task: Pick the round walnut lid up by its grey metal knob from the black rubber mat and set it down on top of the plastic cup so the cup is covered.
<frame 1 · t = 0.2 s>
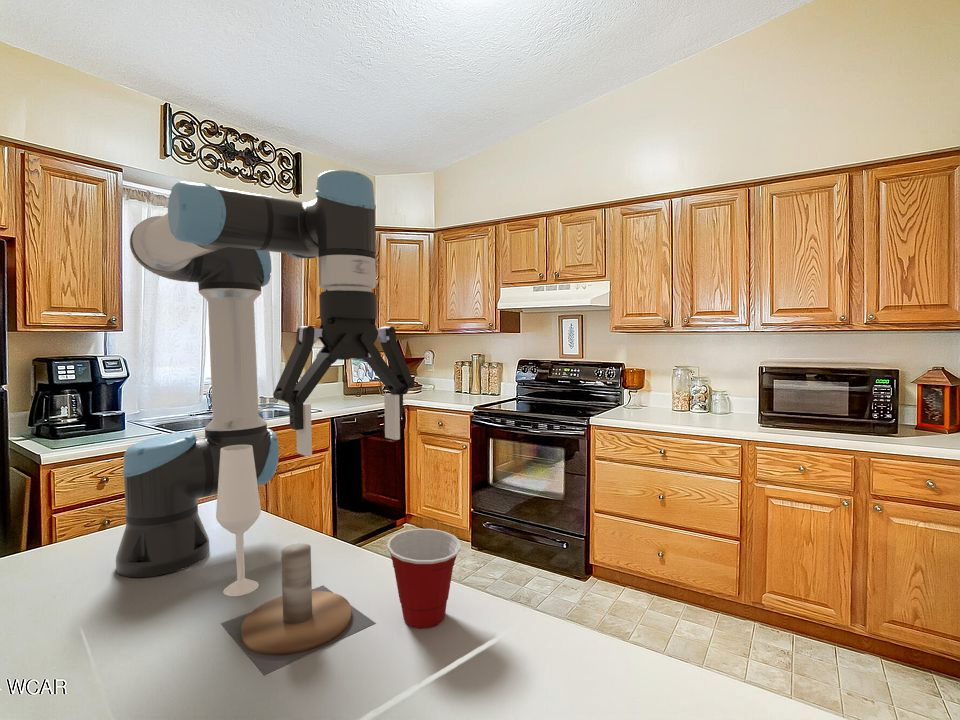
hand: (351, 446, 70), 27 cm above the kitchen island, fingers open, 13 cm apart
mat: (298, 626, 74), on the kitchen island
plastic cup: (425, 622, 75), on the kitchen island
lid: (298, 623, 74), resting on mat
champagne flute: (241, 591, 85), on the kitchen island
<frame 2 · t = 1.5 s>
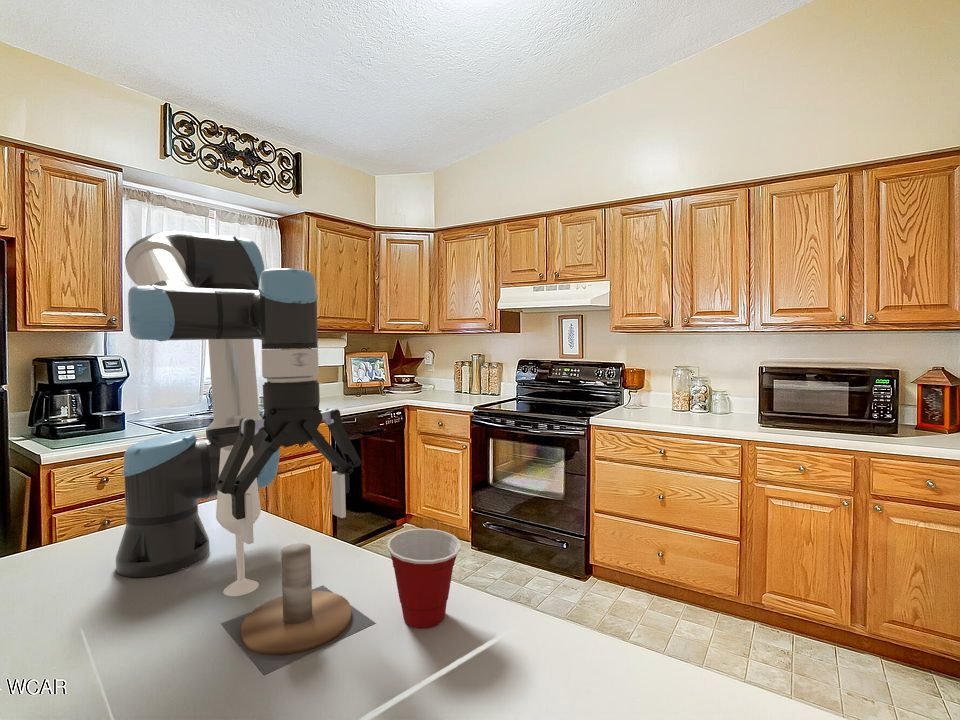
hand: (296, 527, 73), 15 cm above the kitchen island, fingers open, 13 cm apart
nothing on the kitchen island moved.
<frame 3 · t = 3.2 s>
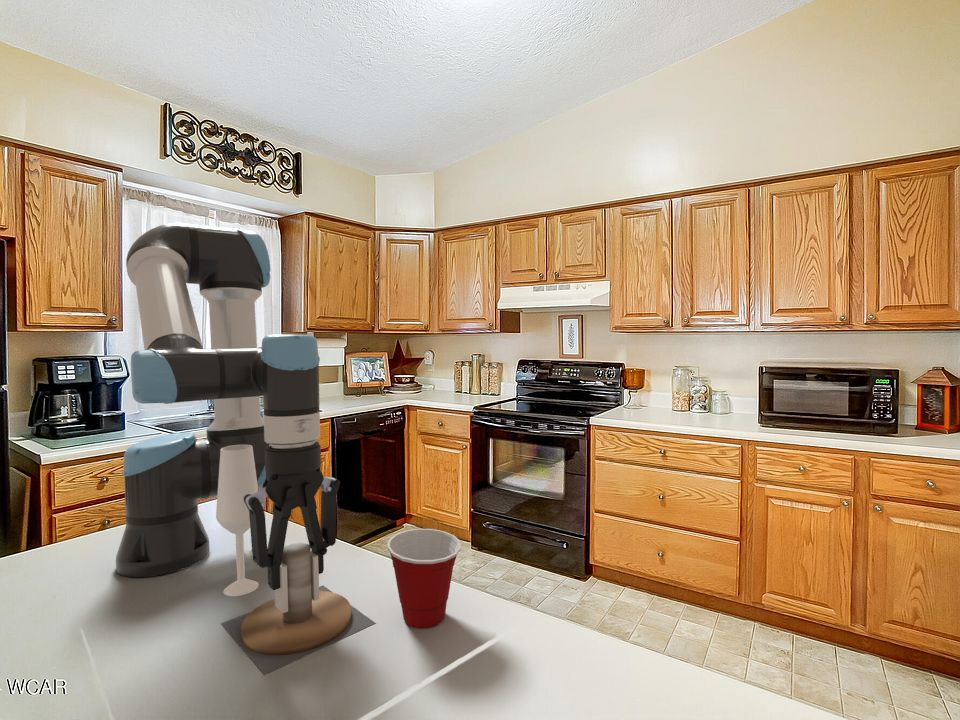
hand: (297, 602, 74), 4 cm above the kitchen island, fingers closed on lid, 4 cm apart
lid: (298, 623, 74), point 1 cm above the kitchen island, touching gripper
everything else where it was.
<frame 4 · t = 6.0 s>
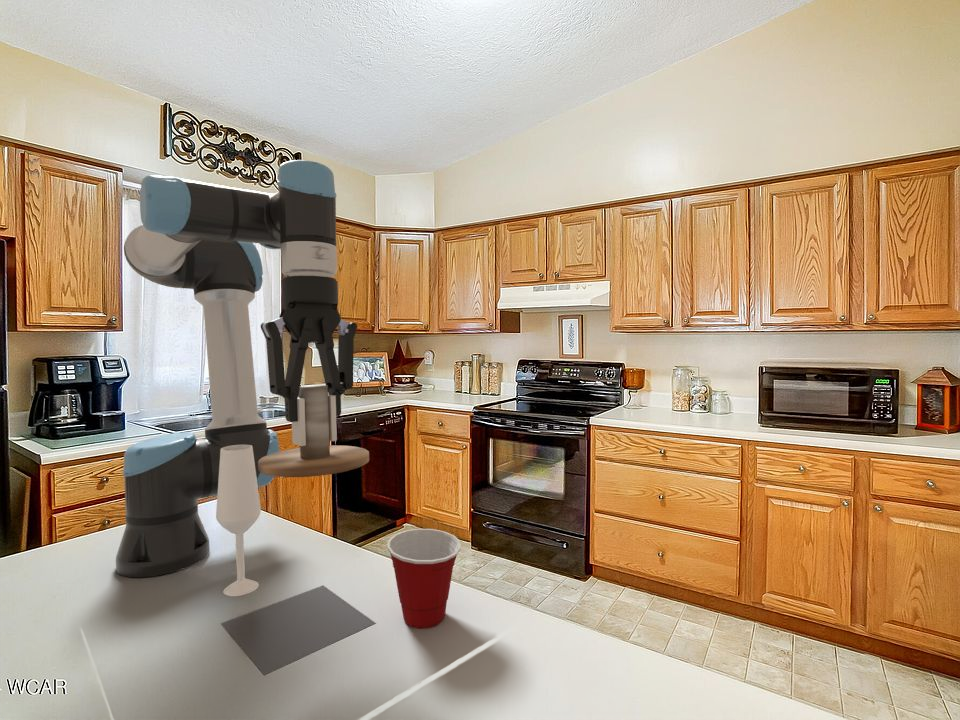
hand: (314, 441, 73), 27 cm above the kitchen island, fingers closed on lid, 4 cm apart
lid: (315, 463, 73), point 24 cm above the kitchen island, touching gripper
everything else where it was.
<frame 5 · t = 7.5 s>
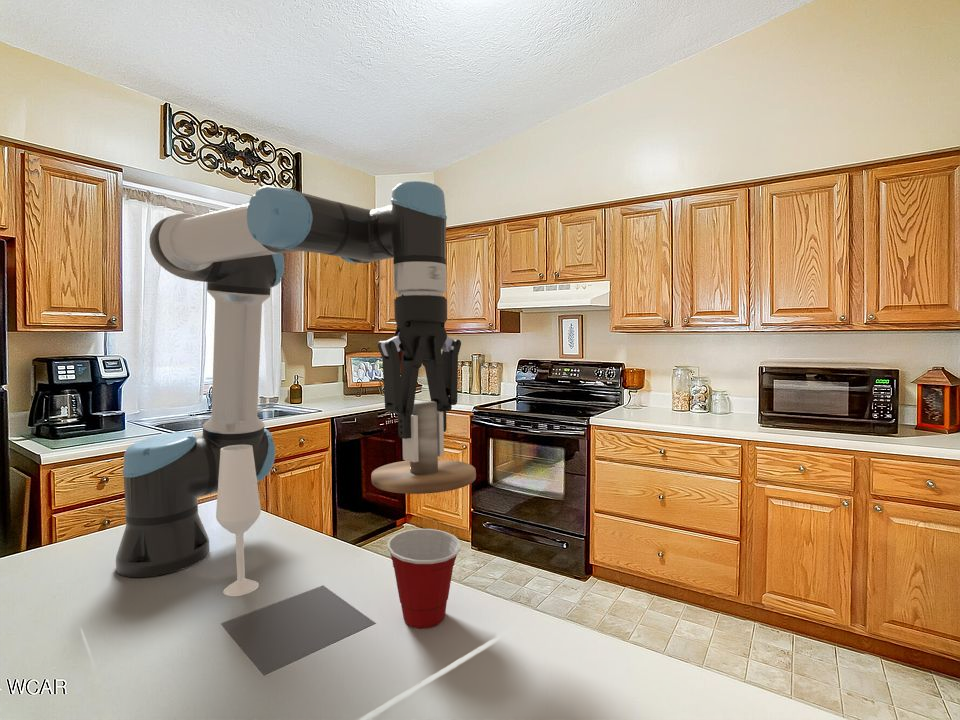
hand: (423, 457, 74), 24 cm above the kitchen island, fingers closed on lid, 4 cm apart
lid: (424, 478, 74), point 21 cm above the kitchen island, touching gripper
everything else where it was.
when the fingers open (17 cm above the kitchen island, at t = 9.0 s): lid drops 2 cm, resting on plastic cup.
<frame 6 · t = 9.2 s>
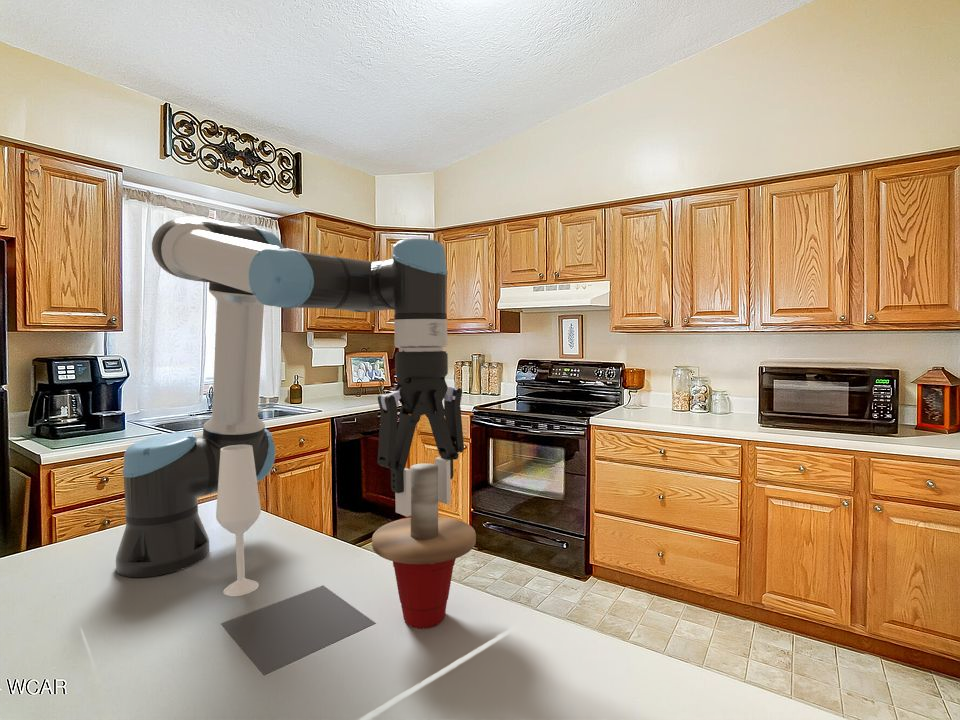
hand: (423, 507, 74), 17 cm above the kitchen island, fingers open, 7 cm apart
plastic cup: (425, 622, 75), on the kitchen island, touching lid
lid: (424, 541, 75), point 12 cm above the kitchen island, touching plastic cup
everything else where it was.
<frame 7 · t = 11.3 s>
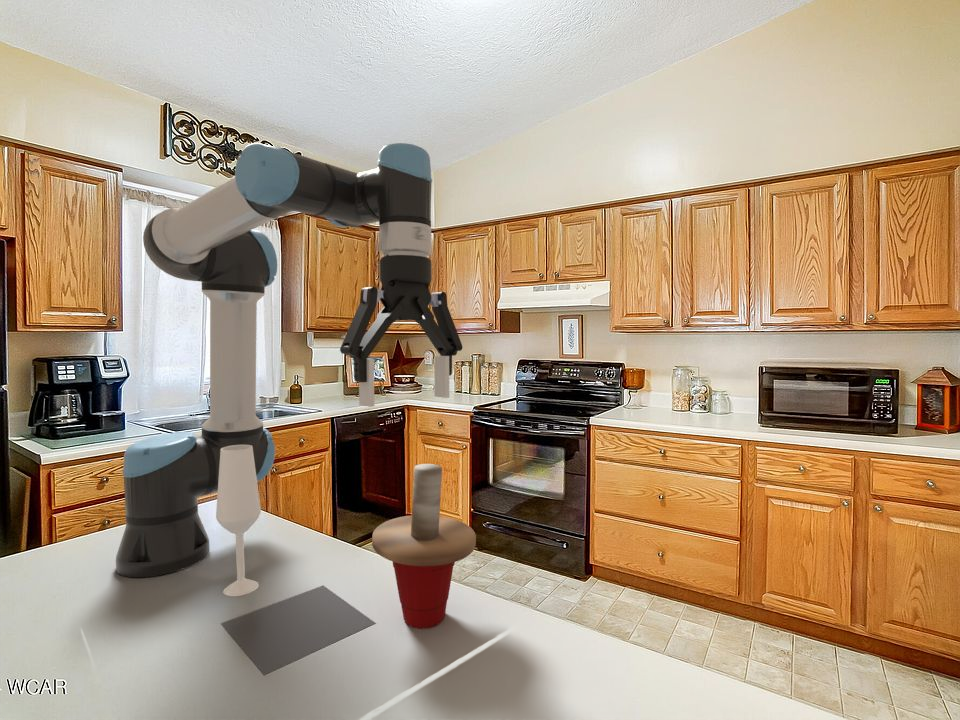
hand: (406, 401, 76), 32 cm above the kitchen island, fingers open, 13 cm apart
nothing on the kitchen island moved.
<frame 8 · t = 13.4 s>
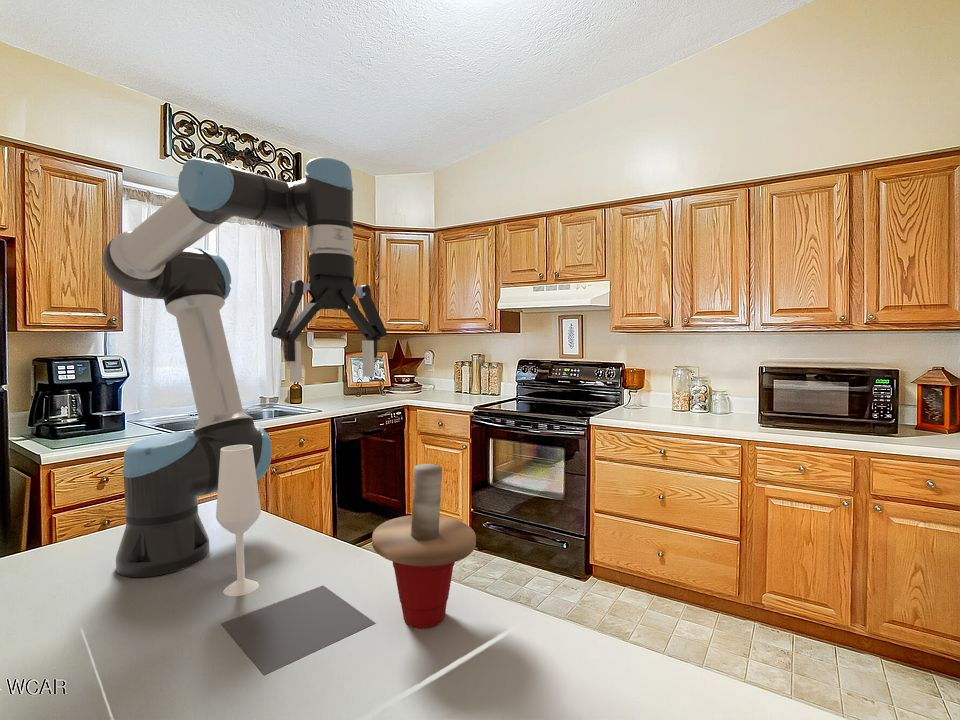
hand: (334, 379, 88), 35 cm above the kitchen island, fingers open, 13 cm apart
nothing on the kitchen island moved.
at the end: lid 0.1 cm from the plastic cup (horizontally); lid point 12.0 cm above the kitchen island; the gripper is holding nothing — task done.
